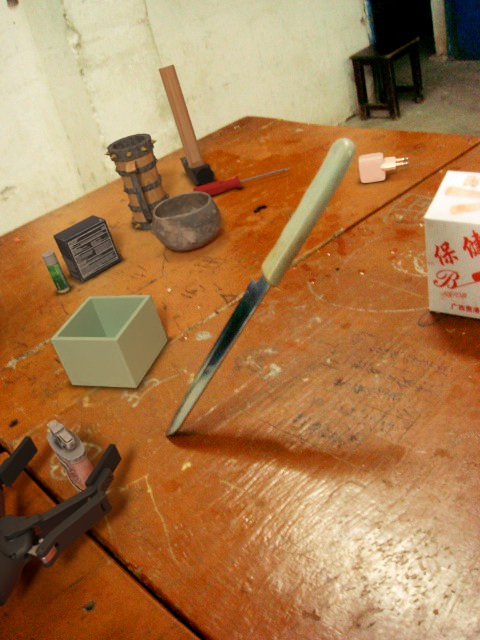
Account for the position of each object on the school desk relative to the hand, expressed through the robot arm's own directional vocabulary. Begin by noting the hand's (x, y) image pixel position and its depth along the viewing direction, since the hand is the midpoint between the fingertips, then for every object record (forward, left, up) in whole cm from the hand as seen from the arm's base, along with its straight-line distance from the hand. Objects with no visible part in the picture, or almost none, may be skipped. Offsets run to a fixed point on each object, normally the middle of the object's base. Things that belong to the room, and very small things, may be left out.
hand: (72, 447), depth 85 cm
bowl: (-11, +66, -6) cm, 67 cm away
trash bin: (-8, +25, -6) cm, 27 cm away
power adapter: (+27, +93, -6) cm, 97 cm away
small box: (-32, +57, -6) cm, 66 cm away
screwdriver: (-9, +95, -6) cm, 96 cm away
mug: (-27, +78, -6) cm, 83 cm away
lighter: (0, -1, -6) cm, 6 cm away
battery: (-35, +48, -6) cm, 60 cm away
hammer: (-25, +104, -6) cm, 107 cm away
